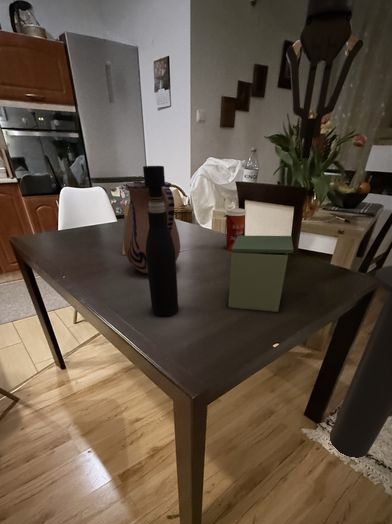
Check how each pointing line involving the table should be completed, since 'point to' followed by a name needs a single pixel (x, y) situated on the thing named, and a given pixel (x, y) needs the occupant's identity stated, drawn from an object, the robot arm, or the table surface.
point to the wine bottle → (160, 248)
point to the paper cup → (234, 225)
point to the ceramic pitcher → (145, 223)
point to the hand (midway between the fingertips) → (304, 158)
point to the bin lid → (263, 244)
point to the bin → (256, 280)
